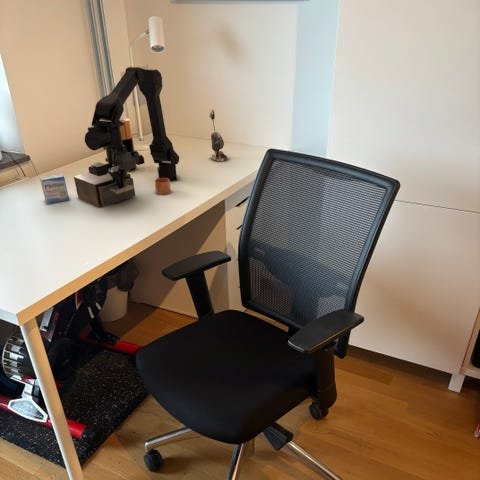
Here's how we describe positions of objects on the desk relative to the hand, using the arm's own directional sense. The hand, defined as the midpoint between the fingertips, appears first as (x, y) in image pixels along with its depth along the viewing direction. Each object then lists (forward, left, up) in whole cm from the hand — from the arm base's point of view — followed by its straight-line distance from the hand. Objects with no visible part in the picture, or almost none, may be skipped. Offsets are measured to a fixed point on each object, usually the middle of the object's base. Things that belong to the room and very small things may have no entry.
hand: (121, 189), depth 173 cm
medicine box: (+22, -13, -6) cm, 26 cm away
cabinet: (+5, -10, -6) cm, 12 cm away
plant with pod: (-45, -41, -6) cm, 60 cm away
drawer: (+3, -5, -5) cm, 7 cm away
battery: (-6, -41, -6) cm, 41 cm away
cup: (-15, -8, -6) cm, 18 cm away
